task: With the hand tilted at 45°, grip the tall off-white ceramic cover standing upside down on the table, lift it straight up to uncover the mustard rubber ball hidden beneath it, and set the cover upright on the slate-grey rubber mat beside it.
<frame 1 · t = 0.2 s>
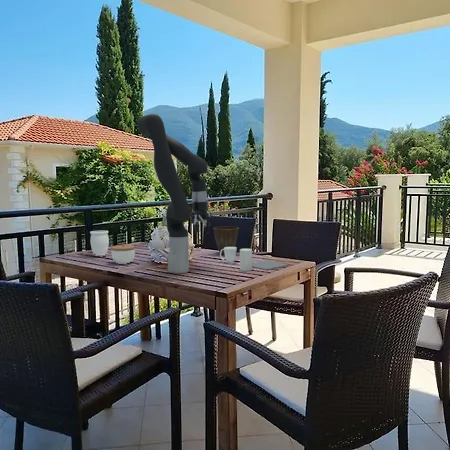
hand: (202, 232, 211), 18 cm above the table, tool pointing down, fingers open, 8 cm apart
rubber mat: (266, 265, 216), on the table
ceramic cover: (246, 269, 208), on the table
jar: (100, 256, 249), on the table
cup: (228, 262, 226), on the table
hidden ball: (245, 266, 207), in the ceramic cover
lidded bowl: (123, 263, 227), on the table
plant pot: (226, 254, 251), on the table
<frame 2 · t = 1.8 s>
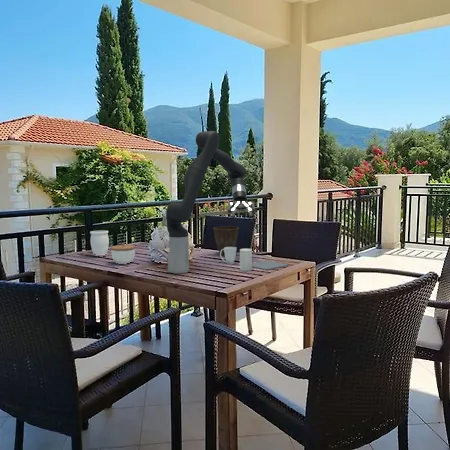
hand: (242, 217, 219), 24 cm above the table, tool tilted 45°, fingers open, 8 cm apart
nothing on the table moved.
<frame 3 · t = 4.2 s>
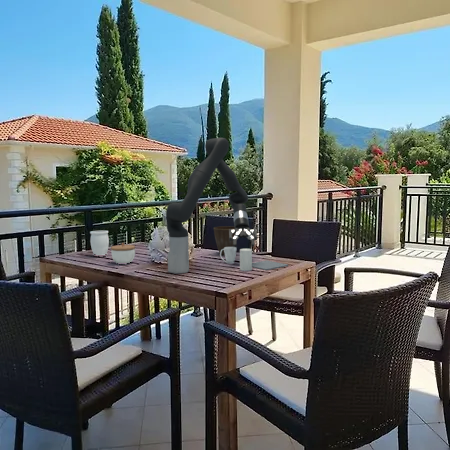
hand: (244, 246, 212), 11 cm above the table, tool tilted 45°, fingers open, 8 cm apart
nothing on the table moved.
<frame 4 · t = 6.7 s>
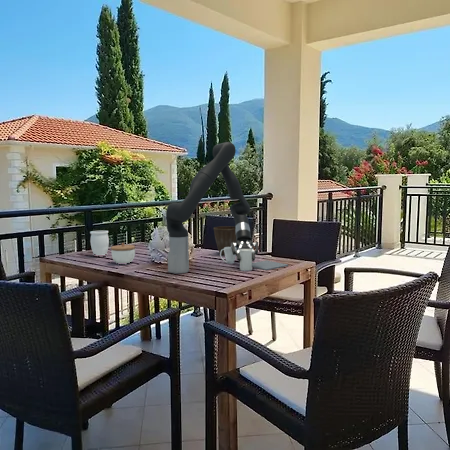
hand: (246, 260, 205), 5 cm above the table, tool tilted 45°, fingers closed on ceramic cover, 6 cm apart
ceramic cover: (246, 269, 208), on the table, touching gripper
everything else where it was.
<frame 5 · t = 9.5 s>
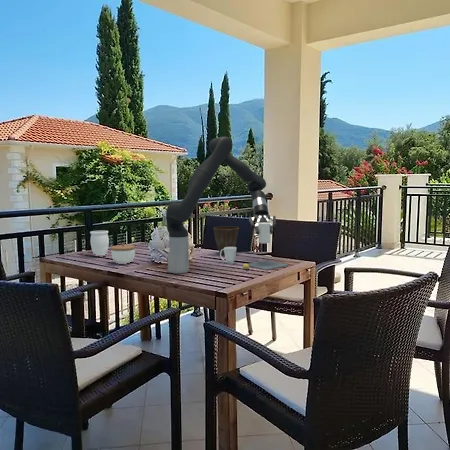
hand: (264, 233, 212), 17 cm above the table, tool tilted 45°, fingers closed on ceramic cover, 6 cm apart
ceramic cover: (264, 242, 214), point 12 cm above the table, touching gripper
everything else where it was.
when the fingers open (7 cm above the table, at t = 12.1 s): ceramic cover drops 1 cm, resting on rubber mat.
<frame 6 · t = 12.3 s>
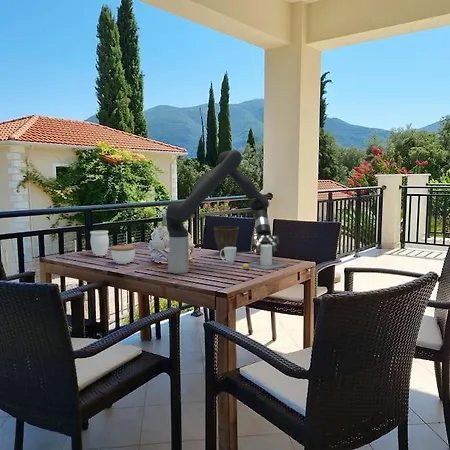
hand: (266, 252, 214), 7 cm above the table, tool tilted 45°, fingers open, 7 cm apart
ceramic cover: (266, 264, 216), point 1 cm above the table, touching rubber mat
everything else where it was.
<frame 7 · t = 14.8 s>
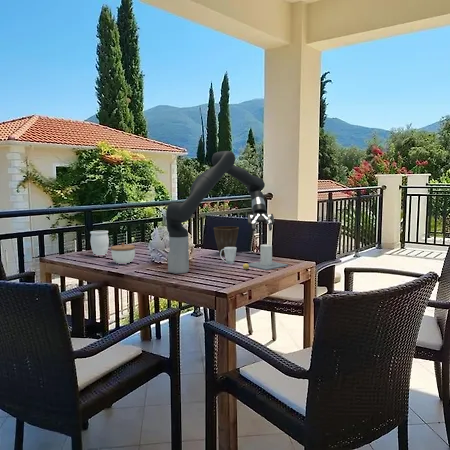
hand: (262, 230, 226), 17 cm above the table, tool tilted 45°, fingers open, 8 cm apart
nothing on the table moved.
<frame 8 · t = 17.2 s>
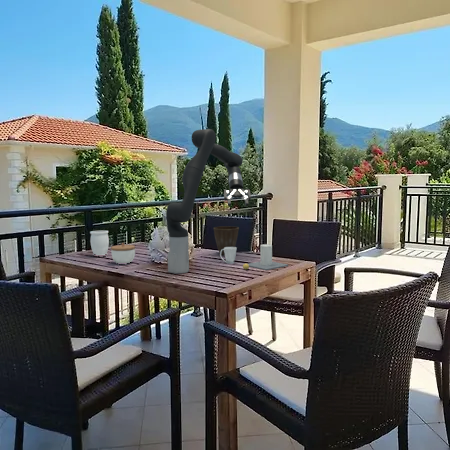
hand: (238, 205, 221), 31 cm above the table, tool tilted 45°, fingers open, 8 cm apart
nothing on the table moved.
at the end: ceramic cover inside the target area on the rubber mat (0.1 cm from its centre), point 0.6 cm above the rubber mat's base; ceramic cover tilted 0°; the gripper is holding nothing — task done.
